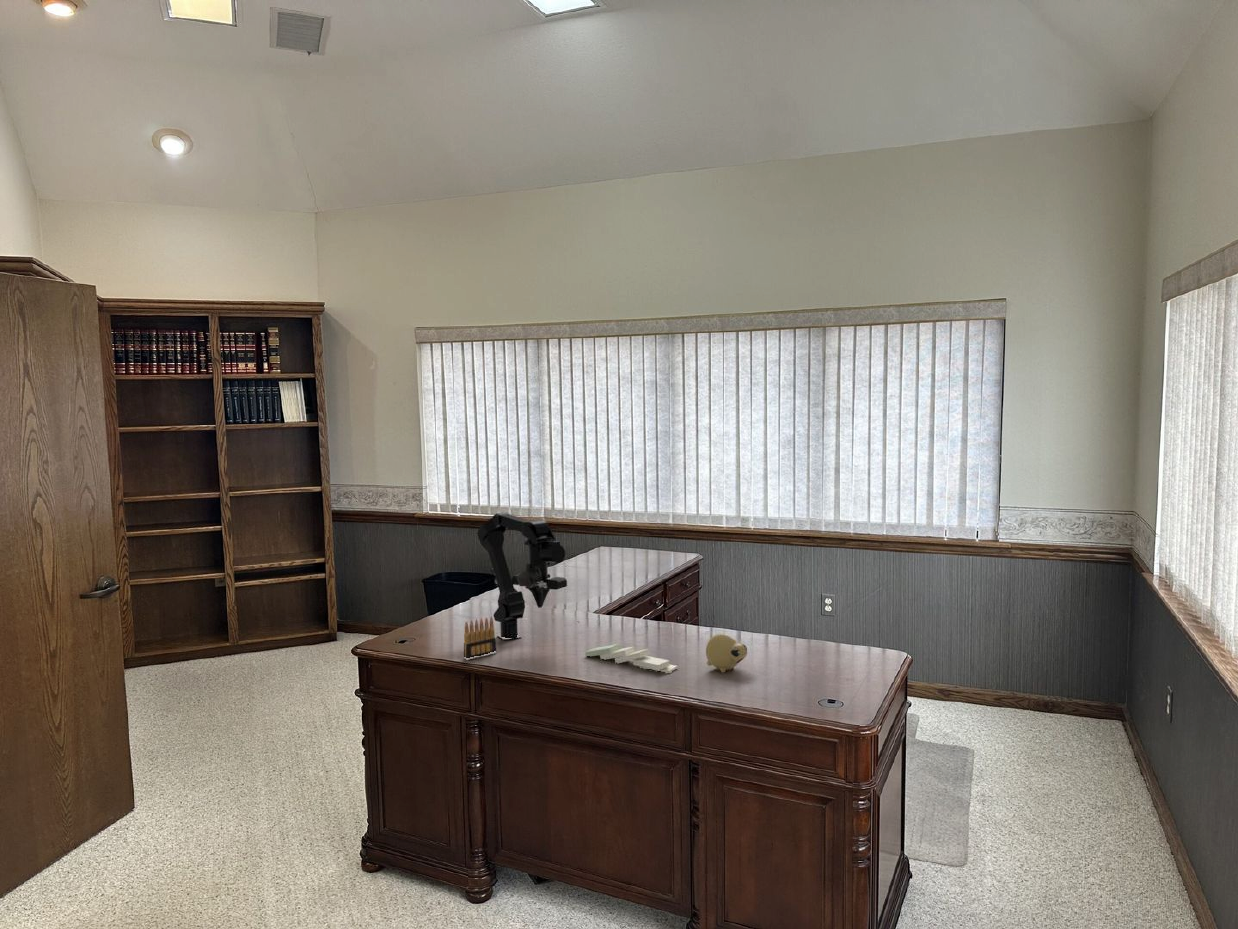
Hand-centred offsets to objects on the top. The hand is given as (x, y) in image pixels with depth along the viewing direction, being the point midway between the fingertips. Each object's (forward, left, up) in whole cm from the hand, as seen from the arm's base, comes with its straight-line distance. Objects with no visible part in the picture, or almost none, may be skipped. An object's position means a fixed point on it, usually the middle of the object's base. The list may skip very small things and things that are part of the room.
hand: (540, 607), depth 278 cm
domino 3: (+27, +13, -12) cm, 33 cm away
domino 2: (+22, +12, -12) cm, 27 cm away
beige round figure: (+52, +35, -13) cm, 64 cm away
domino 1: (+16, +9, -12) cm, 22 cm away
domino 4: (+34, +16, -11) cm, 39 cm away
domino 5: (+35, +17, -13) cm, 41 cm away
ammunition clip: (-2, -20, -13) cm, 24 cm away
